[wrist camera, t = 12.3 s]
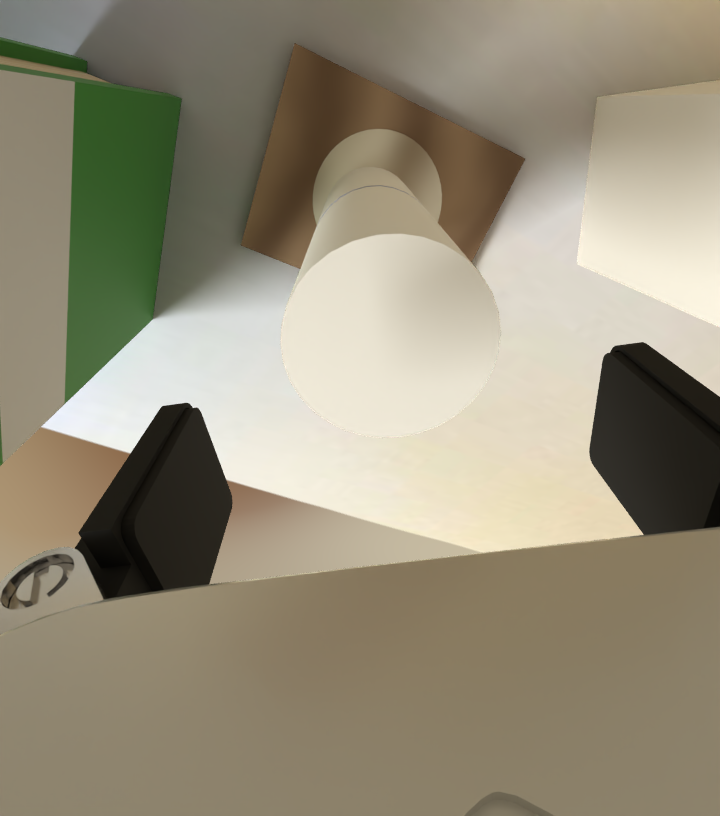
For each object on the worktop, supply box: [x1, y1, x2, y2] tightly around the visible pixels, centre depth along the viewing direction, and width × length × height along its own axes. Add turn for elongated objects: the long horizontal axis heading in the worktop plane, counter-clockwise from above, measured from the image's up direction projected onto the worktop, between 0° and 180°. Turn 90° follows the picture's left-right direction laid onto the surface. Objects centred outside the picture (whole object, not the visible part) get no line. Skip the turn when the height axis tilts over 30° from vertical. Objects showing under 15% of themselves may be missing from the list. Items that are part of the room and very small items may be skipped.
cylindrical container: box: [280, 167, 501, 438], centre depth 26 cm, size 7×7×25 cm
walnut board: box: [241, 44, 525, 269], centre depth 37 cm, size 18×14×1 cm
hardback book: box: [0, 37, 182, 465], centre depth 27 cm, size 18×7×24 cm, turn 160°
